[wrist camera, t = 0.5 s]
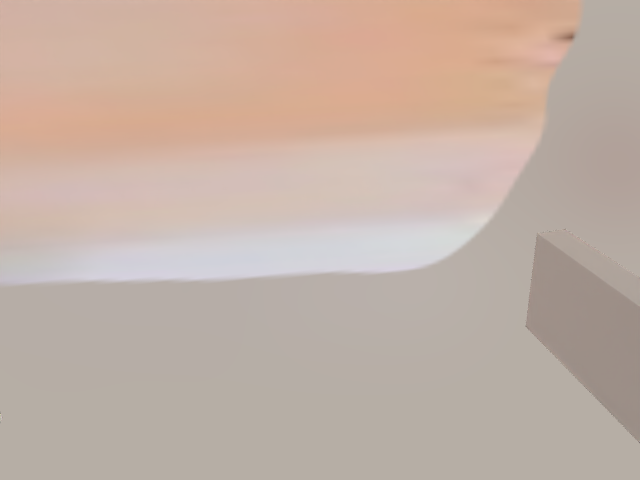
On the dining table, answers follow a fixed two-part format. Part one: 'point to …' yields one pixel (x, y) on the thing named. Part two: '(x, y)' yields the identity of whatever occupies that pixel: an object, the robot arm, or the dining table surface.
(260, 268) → the dining table surface
